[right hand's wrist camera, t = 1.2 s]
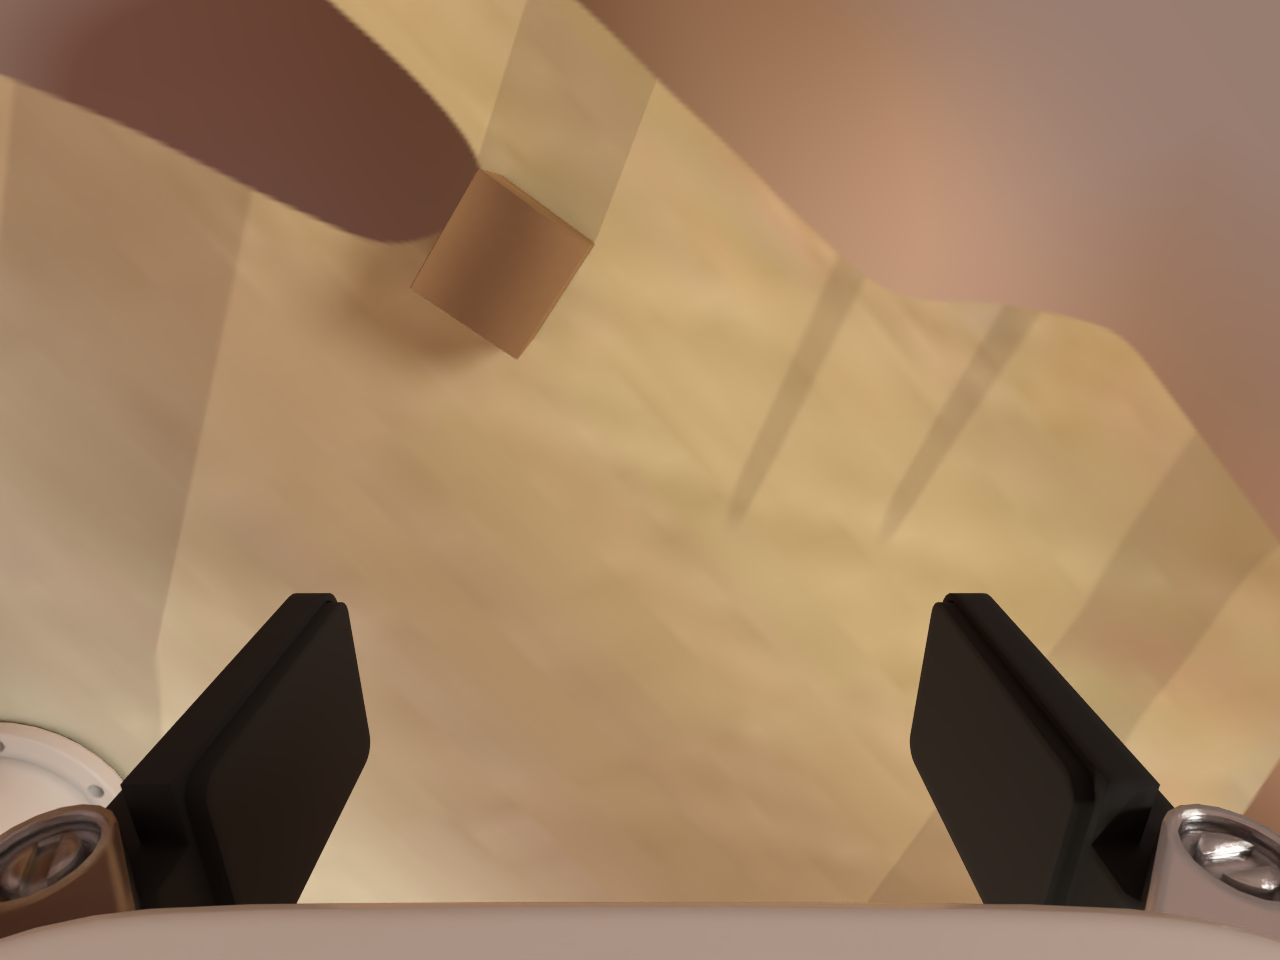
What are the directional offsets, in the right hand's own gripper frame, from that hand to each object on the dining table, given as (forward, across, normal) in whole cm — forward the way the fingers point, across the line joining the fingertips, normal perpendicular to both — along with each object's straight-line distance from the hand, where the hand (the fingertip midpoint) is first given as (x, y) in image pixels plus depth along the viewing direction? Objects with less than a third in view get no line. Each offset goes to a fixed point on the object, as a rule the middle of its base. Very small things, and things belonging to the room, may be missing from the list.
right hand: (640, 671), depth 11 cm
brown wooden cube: (+22, +5, -5) cm, 24 cm away
